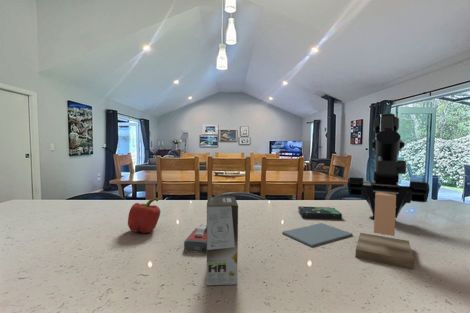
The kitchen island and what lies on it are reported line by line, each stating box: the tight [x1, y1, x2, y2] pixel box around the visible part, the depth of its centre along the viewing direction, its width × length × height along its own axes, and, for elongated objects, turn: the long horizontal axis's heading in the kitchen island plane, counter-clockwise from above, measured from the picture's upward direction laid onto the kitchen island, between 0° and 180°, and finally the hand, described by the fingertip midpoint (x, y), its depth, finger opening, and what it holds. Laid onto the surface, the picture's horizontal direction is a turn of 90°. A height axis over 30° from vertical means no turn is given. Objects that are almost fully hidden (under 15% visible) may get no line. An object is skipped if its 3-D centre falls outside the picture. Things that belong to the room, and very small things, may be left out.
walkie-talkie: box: [183, 224, 207, 253], centre depth 75 cm, size 9×4×20 cm
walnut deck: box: [355, 232, 415, 270], centre depth 67 cm, size 14×12×2 cm
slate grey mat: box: [281, 222, 353, 248], centre depth 80 cm, size 18×12×1 cm, turn 121°
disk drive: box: [297, 206, 343, 221], centre depth 101 cm, size 10×3×15 cm
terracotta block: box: [373, 192, 396, 237], centre depth 66 cm, size 4×4×10 cm
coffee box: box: [206, 196, 239, 286], centre depth 55 cm, size 9×6×16 cm
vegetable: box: [127, 197, 161, 234], centre depth 82 cm, size 11×10×10 cm
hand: (384, 215), depth 65 cm, fingers closed on terracotta block, 4 cm apart
